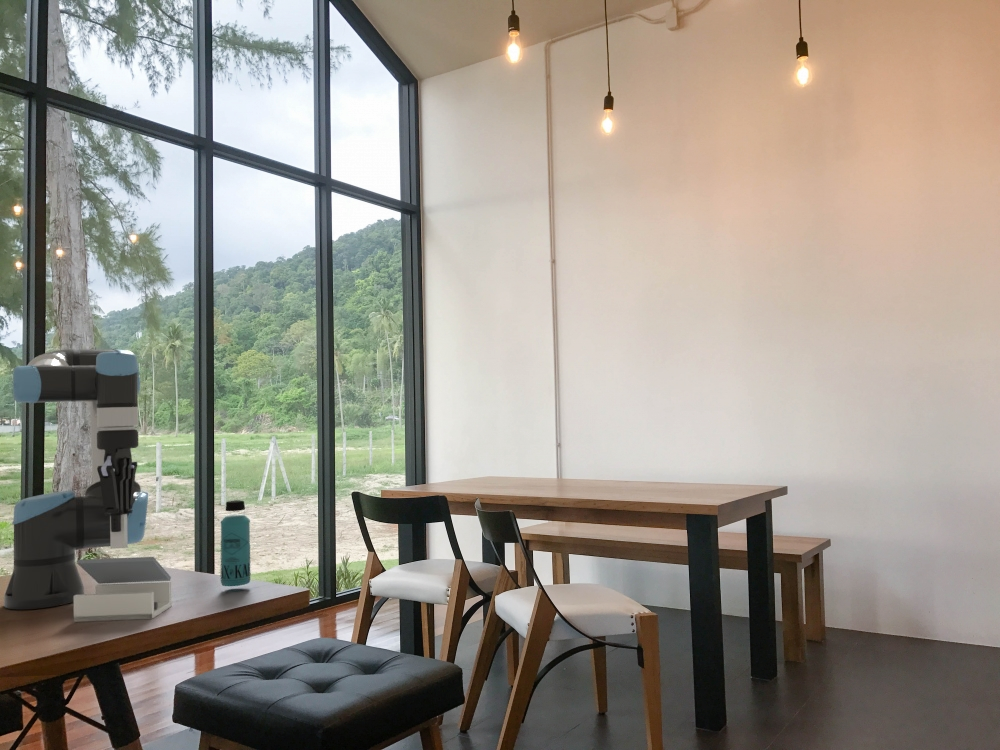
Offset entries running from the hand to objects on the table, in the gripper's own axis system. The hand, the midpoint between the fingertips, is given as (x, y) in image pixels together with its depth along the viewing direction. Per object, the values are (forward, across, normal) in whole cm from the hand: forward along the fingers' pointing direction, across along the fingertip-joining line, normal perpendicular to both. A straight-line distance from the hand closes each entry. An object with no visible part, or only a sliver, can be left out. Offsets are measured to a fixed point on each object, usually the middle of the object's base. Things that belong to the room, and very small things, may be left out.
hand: (119, 547), depth 158 cm
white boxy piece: (+14, -2, 0) cm, 14 cm away
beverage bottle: (+14, -20, +17) cm, 30 cm away
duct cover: (+5, -3, 0) cm, 6 cm away
